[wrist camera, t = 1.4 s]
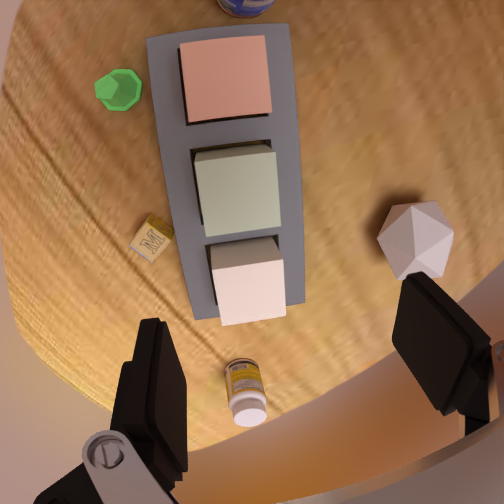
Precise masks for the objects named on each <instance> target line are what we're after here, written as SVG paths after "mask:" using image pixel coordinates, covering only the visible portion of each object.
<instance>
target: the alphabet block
mask: <svg viewBox="0 0 504 504" xmlns="http://www.w3.org/2000/svg"><path fill="white" fill-rule="evenodd" d="M173 233H174V230H173V229H172V228H171V227H170V226H168V225H167V224H166V223H164V222H163V221H162V220H160V219H159V218H158V217H156V216H155V215H154V214H152V213H151V214H150V215H149V216H148V218H147V219H146V220H145V222H144V223H143V224H142V226H141V227H140V228H139V230H138V231H137V232H136V234H135V235H134V237H133V238H132V240H131V242H130V244H129V246H130V247H131V248H132V249H134V250H135V251H136V252H138V253H139V254H140V255H142V256H143V257H145V258H146V259H147V260H149V261H150V262H151V263H154V262H155V260H156V259H157V258H158V256H159V255H160V254H161V253H162V252H163V250H164V249H165V248H166V247H167V245H168V244H169V243H170V242H171V240H172V237H173Z"/></svg>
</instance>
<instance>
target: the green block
mask: <svg viewBox="0 0 504 504" xmlns="http://www.w3.org/2000/svg"><path fill="white" fill-rule="evenodd" d="M194 163H195V170H196V176H197V183H198V190H199V196H200V202H201V209H202V215H203V221H204V227H205V233H206V237H210V236H217V235H223V234H230V233H237V232H244V231H251V230H258V229H265V228H272V227H279V226H281V217H280V202H279V189H278V175H277V162H276V152H275V151H274V150H272V149H271V148H269V147H268V146H266V145H265V144H258V145H249V146H240V147H232V148H224V149H217V150H210V151H203V152H196V157H195V162H194Z"/></svg>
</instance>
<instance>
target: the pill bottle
mask: <svg viewBox="0 0 504 504" xmlns="http://www.w3.org/2000/svg"><path fill="white" fill-rule="evenodd" d="M274 1H275V0H217V2H218V4H219V5H220V7H221V8H222V9H223V10H224V11H225V12H227V13H229V14H230V15H233V16H236V17H241V18H251V17H256V16H259V15H261V14H263V13H264V12H266V11H267V10H268V9H269V8H270V7H271V5H272V4H273V3H274Z"/></svg>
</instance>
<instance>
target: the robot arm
mask: <svg viewBox="0 0 504 504" xmlns="http://www.w3.org/2000/svg"><path fill="white" fill-rule="evenodd" d="M490 340H491V338H490V337H489V336H488V335H487V334H486V333H485V332H484V331H483V330H482V329H481V328H480V326H479V325H478V324H477V323H476V322H475V321H474V320H473V319H472V318H470V316H469V315H468V314H467V313H466V312H465V311H464V310H463V309H462V308H461V307H460V306H459V305H458V304H457V303H456V302H455V301H454V300H453V299H452V298H451V297H450V296H449V295H448V294H447V293H446V292H445V291H444V290H443V289H441V288H440V287H439V286H438V285H437V284H436V283H435V282H434V281H433V280H432V279H431V278H430V277H429V276H428V275H427V274H426V273H424V272H423V271H419V272H415V273H410V274H408V275H407V276H406V278H405V279H404V280H403V282H402V287H401V293H400V299H399V304H398V309H397V315H396V320H395V325H394V329H393V334H392V342H393V345H394V347H395V348H396V350H397V351H398V353H399V354H400V356H401V357H402V359H403V360H404V362H405V363H406V364H407V366H408V368H409V369H410V371H411V372H412V374H413V375H414V377H415V378H416V380H417V381H418V383H419V384H420V386H421V387H422V389H423V391H424V392H425V394H426V395H427V397H428V398H429V400H430V402H431V403H432V404H433V406H434V408H435V409H436V410H440V412H441V413H442V415H443V416H446V415H448V414H450V413H452V412H454V411H455V410H456V409H457V410H458V412H459V440H458V441H456V442H454V443H453V444H450V445H449V446H447V447H445V448H442V449H440V450H438V451H436V452H434V453H432V454H430V455H428V456H425V457H423V458H421V459H419V460H417V461H414V462H412V463H410V464H407V465H405V466H402V467H400V468H397V469H395V470H392V471H390V472H387V473H384V474H382V475H379V476H376V477H373V478H370V479H368V480H365V481H362V482H359V483H355V484H352V485H349V486H346V487H342V488H339V489H336V490H332V491H328V492H324V493H321V494H317V495H313V496H308V497H305V498H300V499H295V500H290V501H286V502H280V503H275V504H504V340H500V341H497V342H496V343H495V344H494V345H493V346H491V345H490V344H489V343H490ZM82 458H83V463H82V464H80V465H79V466H78V467H76V468H75V469H74V470H72V471H71V472H69V473H68V474H67V475H65V476H64V477H63V478H61V479H60V480H58V481H57V482H56V483H54V484H53V485H51V486H50V487H49V488H47V489H46V490H44V491H43V492H41V493H40V494H39V495H38V496H37V497H36V499H35V501H34V503H33V504H180V503H179V502H178V501H177V499H176V498H175V497H174V496H173V494H172V493H171V492H170V491H171V490H172V489H173V488H175V481H182V472H187V471H188V457H187V385H186V379H185V376H184V373H183V370H182V367H181V364H180V362H179V359H178V356H177V353H176V350H175V347H174V344H173V341H172V338H171V335H170V332H169V329H168V326H167V323H166V321H163V322H161V321H160V319H159V318H150V319H142V320H141V322H140V326H139V330H138V335H137V340H136V344H135V349H134V354H133V359H132V361H127V362H124V363H123V365H122V369H121V373H120V378H119V383H118V388H117V393H116V398H115V403H114V408H113V414H112V419H111V425H110V430H106V431H101V432H98V433H96V434H94V435H93V436H91V437H90V438H89V439H88V440H87V442H86V443H85V445H84V447H83V450H82Z"/></svg>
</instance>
